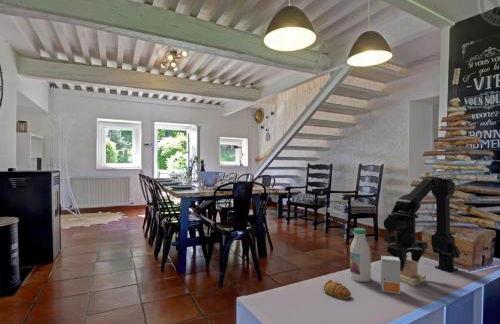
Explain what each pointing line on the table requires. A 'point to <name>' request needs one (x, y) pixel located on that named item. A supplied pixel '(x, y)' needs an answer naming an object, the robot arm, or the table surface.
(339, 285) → the pastry
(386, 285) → the skincare box
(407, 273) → the cube
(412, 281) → the plinth
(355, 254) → the milk bottle
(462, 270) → the table surface
